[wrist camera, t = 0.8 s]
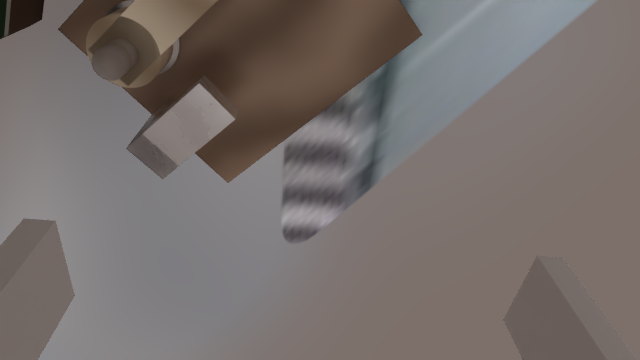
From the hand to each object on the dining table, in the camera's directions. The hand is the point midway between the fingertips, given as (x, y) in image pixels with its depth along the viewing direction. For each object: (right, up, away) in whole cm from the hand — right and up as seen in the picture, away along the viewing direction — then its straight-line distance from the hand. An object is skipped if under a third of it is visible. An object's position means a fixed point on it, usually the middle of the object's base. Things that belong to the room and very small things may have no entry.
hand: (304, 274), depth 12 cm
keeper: (-11, +11, +18) cm, 24 cm away
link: (-8, +15, +15) cm, 23 cm away
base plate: (-5, +13, +18) cm, 23 cm away
